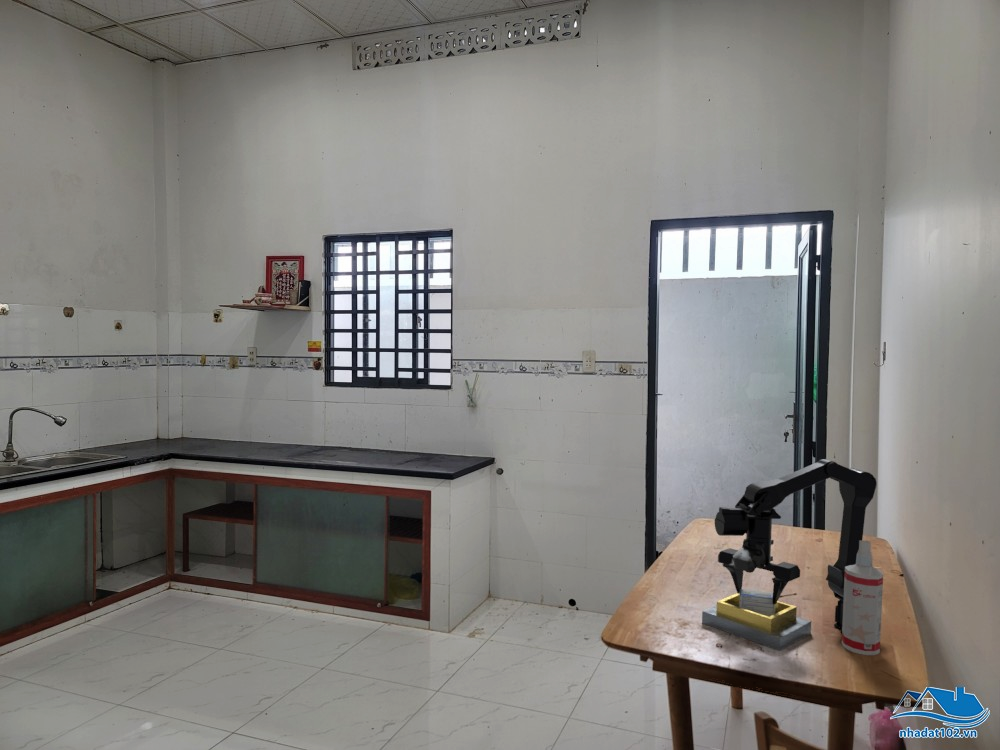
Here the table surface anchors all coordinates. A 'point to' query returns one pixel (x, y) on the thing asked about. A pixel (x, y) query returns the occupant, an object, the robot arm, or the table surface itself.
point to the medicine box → (757, 601)
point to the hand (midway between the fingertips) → (756, 598)
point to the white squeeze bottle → (862, 604)
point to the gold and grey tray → (758, 623)
